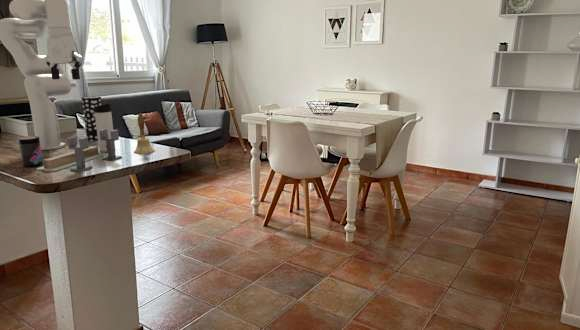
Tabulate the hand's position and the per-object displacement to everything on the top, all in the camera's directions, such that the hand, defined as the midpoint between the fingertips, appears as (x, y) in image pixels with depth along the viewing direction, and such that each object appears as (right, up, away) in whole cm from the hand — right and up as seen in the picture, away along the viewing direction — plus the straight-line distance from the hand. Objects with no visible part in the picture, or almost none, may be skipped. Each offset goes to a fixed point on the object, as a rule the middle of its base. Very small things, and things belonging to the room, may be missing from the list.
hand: (66, 79), depth 169 cm
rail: (+4, -31, -3) cm, 32 cm away
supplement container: (-9, -33, -7) cm, 35 cm away
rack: (+15, -33, -6) cm, 36 cm away
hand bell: (+25, -28, +14) cm, 40 cm away
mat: (+4, -32, -3) cm, 32 cm away
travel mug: (+10, -28, +15) cm, 33 cm away
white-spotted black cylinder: (-7, -21, +41) cm, 47 cm away
